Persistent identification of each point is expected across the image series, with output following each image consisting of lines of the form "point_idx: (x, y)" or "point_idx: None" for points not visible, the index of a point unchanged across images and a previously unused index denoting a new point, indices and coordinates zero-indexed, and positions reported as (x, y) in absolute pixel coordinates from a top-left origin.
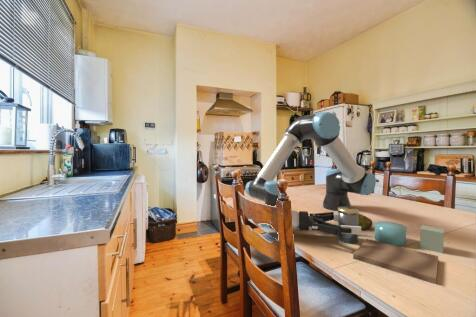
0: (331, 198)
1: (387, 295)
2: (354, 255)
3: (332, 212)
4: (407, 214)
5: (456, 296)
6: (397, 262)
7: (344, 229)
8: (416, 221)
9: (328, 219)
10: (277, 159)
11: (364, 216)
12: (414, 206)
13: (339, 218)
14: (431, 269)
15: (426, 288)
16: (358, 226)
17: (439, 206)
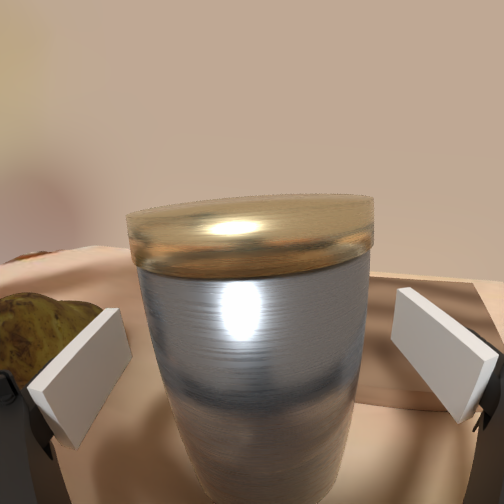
0: None
1: None
2: None
3: (3, 379)
4: (55, 274)
5: (483, 285)
6: (461, 313)
7: (499, 354)
8: (95, 274)
9: (60, 495)
10: None
11: (74, 301)
12: (32, 264)
13: (313, 366)
14: (438, 284)
15: (499, 301)
16: (407, 293)
17: (53, 253)
